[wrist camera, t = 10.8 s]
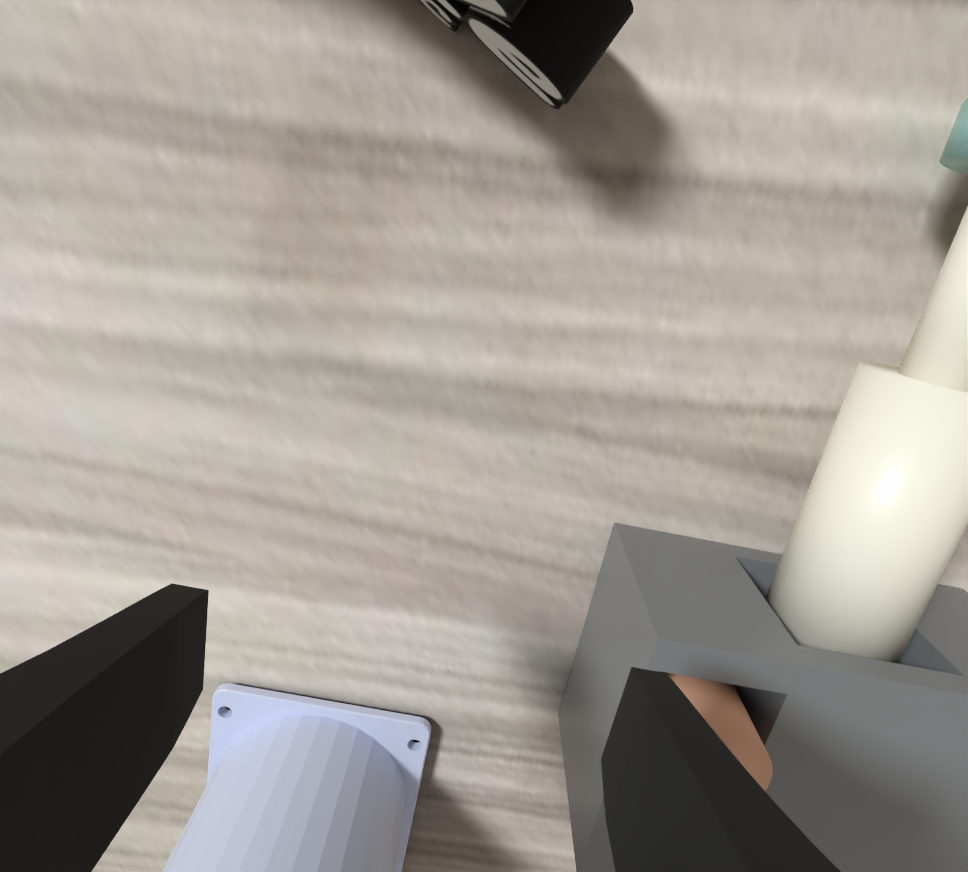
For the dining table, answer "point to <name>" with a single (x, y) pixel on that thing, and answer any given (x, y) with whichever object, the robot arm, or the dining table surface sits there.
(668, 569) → the housing
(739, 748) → the plunger
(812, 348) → the dining table surface
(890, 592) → the push handle
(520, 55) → the logo
